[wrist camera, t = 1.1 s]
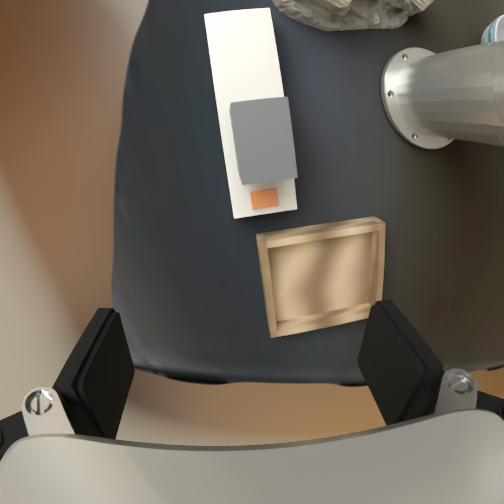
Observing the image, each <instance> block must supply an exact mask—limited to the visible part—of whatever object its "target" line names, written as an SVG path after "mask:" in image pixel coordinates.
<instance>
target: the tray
mask: <svg viewBox="0 0 504 504" xmlns="http://www.w3.org/2000/svg"><path fill="white" fill-rule="evenodd" d="M256 240H257V247H258V255H259V262H260V269H261V277H262V284H263V292H264V299H265V306H266V314H267V321H268V327H269V332H270V336H271V338H274V337H279V336H285V335H290V334H296V333H301V332H306V331H311V330H316V329H321V328H325V327H330V326H335V325H339V324H344V323H348V322H352V321H357V320H361V319H365V318H368V317H369V313H370V308H371V306H372V305H374V304H375V302H376V301H381V300H382V290H383V275H384V256H385V222H383V221H382V220H380V219H378V218H377V217H375V216H374V217H367V218H360V219H353V220H346V221H339V222H332V223H325V224H318V225H311V226H305V227H298V228H291V229H285V230H278V231H272V232H265V233H259V234H256Z"/></svg>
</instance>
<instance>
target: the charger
mask: <svg viewBox="0 0 504 504" xmlns="http://www.w3.org/2000/svg"><path fill="white" fill-rule="evenodd" d="M229 112H230V119H231V126H232V133H233V140H234V147H235V154H236V161H237V168H238V174H239V177H240V180H241V182H242V185H248V184H254V183H261V182H269V181H276V180H284V179H292V178H298V177H297V167H296V158H295V149H294V141H293V133H292V125H291V117H290V110H289V102H288V97H276V98H265V99H256V100H247V101H239V102H232V103H231V104H230V108H229Z"/></svg>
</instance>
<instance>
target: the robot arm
mask: <svg viewBox="0 0 504 504" xmlns="http://www.w3.org/2000/svg"><path fill="white" fill-rule="evenodd" d="M388 95H389V96H388ZM381 98H382V102H383V106H384V109H385V111H386V114H387V116H388V118H389V120H390V122H391V123H392V125H393V127H394V128H395V129H396V131H397V132H398V133H399V134H400V135H401V136H402V137H403V138H404V139H405V140H406V141H408V142H410V143H411V144H413V145H415V146H418V147H421V148H426V149H438V148H442V147H444V146H446V145H448V144H450V143H451V142H452V141H453V140H454V139H458V140H466V141H473V142H479V143H485V144H491V145H497V146H502V147H504V40H503V41H497V42H491V43H485V44H479V45H474V46H469V47H465V48H460V49H455V50H451V51H447V52H443V53H439V54H435V53H433V52H431V51H429V50H426V49H423V48H415V47H412V48H407V49H404V50H401V51H399V52H397V53H396V54H394V55H393V56H392V57H391V58H390V59H389V60H388V61H387V63H386V65H385V67H384V69H383V73H382V77H381ZM358 366H359V368H360V370H361V372H362V374H363V377H364V379H365V381H366V383H367V385H368V387H369V389H370V391H371V393H372V395H373V397H374V399H375V401H376V404H377V406H378V408H379V410H380V412H381V414H382V416H383V419H384V421H385V423H386V425H387V426H383V427H379V428H374V429H370V430H365V431H361V432H356V433H350V434H345V435H340V436H333V437H327V438H321V439H313V440H305V441H297V442H288V443H278V444H264V445H246V446H184V445H165V444H153V443H142V442H132V441H122V440H115V439H116V435H117V431H118V427H119V424H120V420H121V417H122V413H123V410H124V406H125V403H126V400H127V396H128V393H129V390H130V386H131V383H132V380H133V377H134V365H133V362H132V358H131V355H130V351H129V348H128V344H127V341H126V337H125V333H124V329H123V326H122V322H121V318H120V314H119V313H118V312H115V310H114V309H113V308H98V310H97V311H96V313H95V314H94V316H93V318H92V319H91V321H90V322H89V324H88V326H87V328H86V329H85V331H84V332H83V334H82V336H81V337H80V339H79V341H78V342H77V344H76V346H75V347H74V349H73V351H72V353H71V354H70V356H69V358H68V360H67V361H66V363H65V365H64V367H63V369H62V370H61V372H60V374H59V376H58V378H57V380H56V382H55V383H54V385H53V387H52V388H50V387H47V386H41V387H36V388H34V389H32V390H30V391H29V392H27V393H26V394H25V396H24V397H23V399H22V402H21V409H22V411H20V412H18V413H16V414H14V415H11V416H9V417H7V418H5V419H2V420H0V504H504V399H502V398H499V397H495V396H492V395H490V394H487V393H484V392H481V391H478V390H477V388H478V386H477V382H476V380H475V378H474V377H473V376H472V375H471V374H470V373H468V372H467V371H465V370H462V369H450V370H448V371H446V372H444V370H443V369H442V368H443V366H444V365H443V364H442V363H441V361H440V360H439V359H438V358H437V356H436V355H435V354H434V352H433V351H432V350H431V348H430V347H429V346H428V345H427V343H426V342H425V341H424V339H423V338H422V337H421V336H420V334H419V333H418V332H417V331H416V329H415V328H414V327H413V326H412V324H411V323H410V322H409V321H408V320H407V318H406V317H405V316H404V315H403V313H402V312H401V311H400V310H399V309H398V307H397V306H396V305H395V304H394V303H393V301H391V300H381V301H376V302H375V304H374V305H372V306H371V308H370V313H369V317H368V321H367V325H366V330H365V334H364V338H363V341H362V345H361V349H360V353H359V356H358Z"/></svg>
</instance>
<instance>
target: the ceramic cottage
mask: <svg viewBox="0 0 504 504" xmlns="http://www.w3.org/2000/svg"><path fill="white" fill-rule="evenodd" d="M272 1H273V3H274V5H275V6H276V7H277V8H278V9H279V11H280V12H282V13H284V14H285V15H287V16H289V17H290V18H292V19H294V20H296V21H298V22H300V23H303V24H305V25H308V26H310V27H314V28H318V29H320V30H323V31H342V30H356V29H363V30H364V29H395V28H399V27H401V26H402V25H403V24H404V23H405V22H406V21H407V20H408V19H407V18H408V16H409V15H413V14H415V13H418V12H421V11H423V10H424V9H426V8H427V6H428V5H430V4H431V3H432V2H433V1H434V0H272Z"/></svg>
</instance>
